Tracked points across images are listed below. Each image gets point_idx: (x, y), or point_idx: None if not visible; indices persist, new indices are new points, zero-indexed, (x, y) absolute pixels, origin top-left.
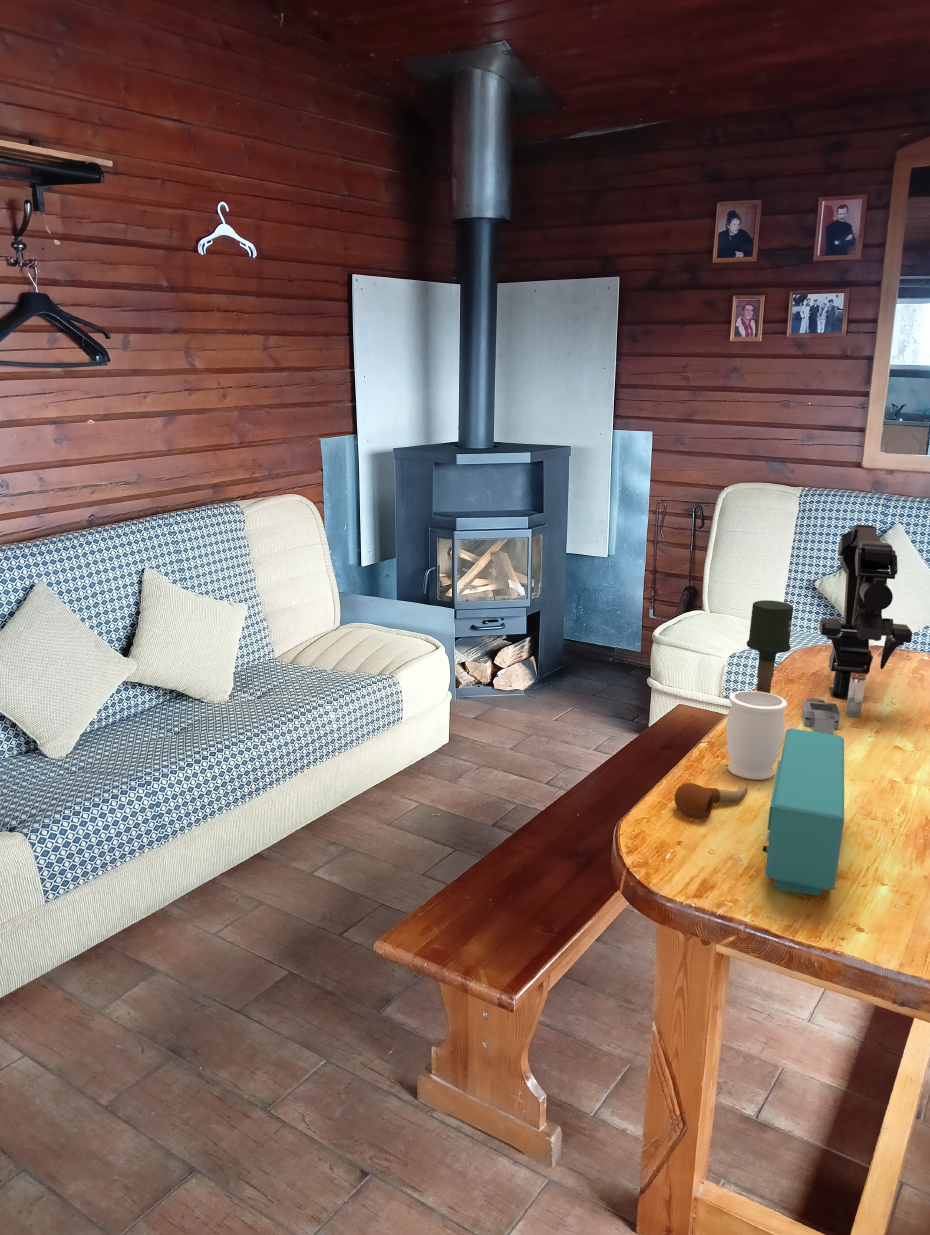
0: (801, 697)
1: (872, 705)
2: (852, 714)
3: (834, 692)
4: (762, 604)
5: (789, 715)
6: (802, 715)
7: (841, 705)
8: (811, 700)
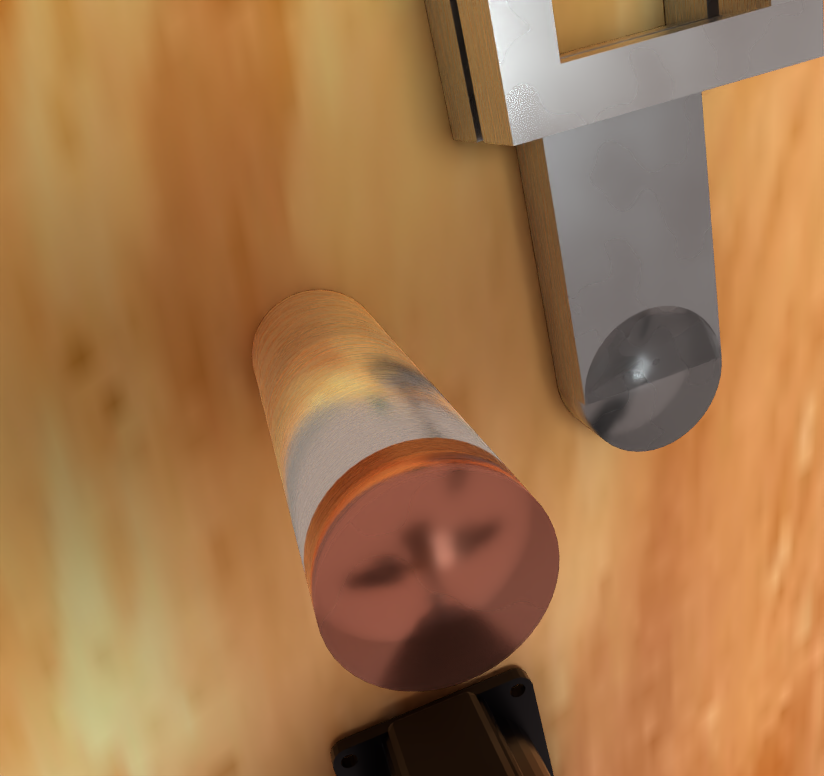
0: (714, 522)
1: (221, 700)
2: (320, 296)
3: (521, 730)
4: None
5: None
6: None
7: None
8: (686, 363)
